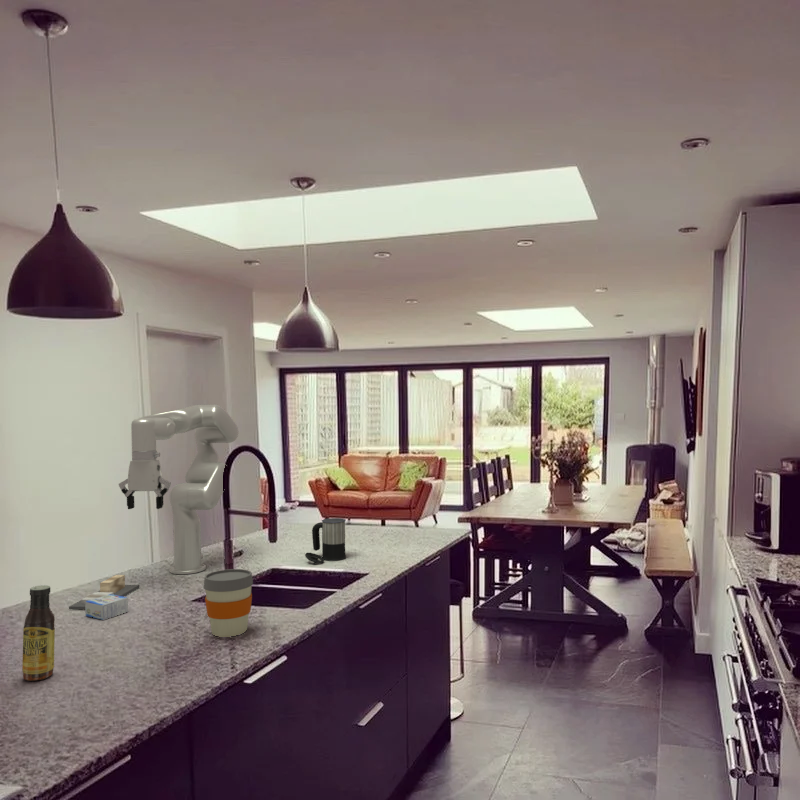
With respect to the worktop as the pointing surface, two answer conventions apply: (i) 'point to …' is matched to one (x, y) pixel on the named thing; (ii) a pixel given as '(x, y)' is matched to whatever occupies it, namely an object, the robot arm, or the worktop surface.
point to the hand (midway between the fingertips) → (145, 508)
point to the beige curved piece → (108, 587)
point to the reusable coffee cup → (228, 601)
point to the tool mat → (122, 592)
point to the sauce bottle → (38, 636)
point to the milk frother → (329, 540)
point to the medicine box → (106, 606)
